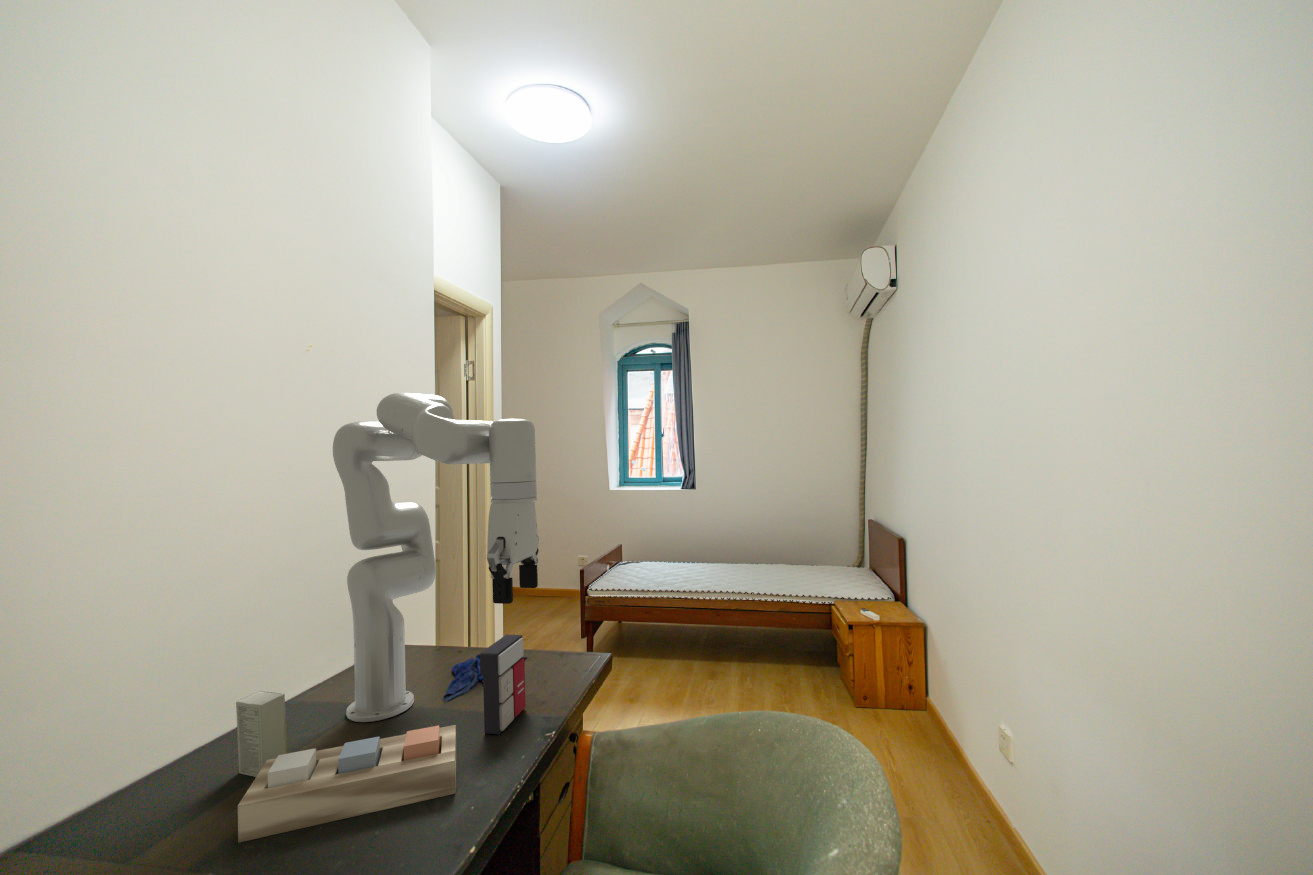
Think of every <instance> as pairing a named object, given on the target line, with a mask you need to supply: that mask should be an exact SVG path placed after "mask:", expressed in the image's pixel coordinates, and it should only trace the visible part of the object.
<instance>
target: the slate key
mask: <svg viewBox="0 0 1313 875" xmlns="http://www.w3.org/2000/svg"><path fill="white" fill-rule="evenodd" d="M380 739H381V736H374V737H370V738H364V739H359V740H353V741H348V742H344V744H343V745H342V746H343V749H342V751H341V754H340V756H339V758H338V774H341V773H346V772H351V771H356V770H361V769H366V768H371V767H375V766H377V765H378V761H379V758H380Z"/></svg>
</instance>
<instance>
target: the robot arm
mask: <svg viewBox="0 0 1313 875" xmlns="http://www.w3.org/2000/svg"><path fill="white" fill-rule="evenodd" d="M376 417H377V421H374V420H372V421H369V420H365V421H363V420H362V421H354V422H350V423H349V422H348V423H347V424H344V425H342V426H341V427H339V428H338V430H337V431H336V432H335V434H334V436H333V441H332V442H333V443H332V457H333V463H334V465H335V469H336V471H337V473H338V475H339V478H340V480H341V483H342V486H343V490H344V499H345V507H346V514H347V515H346V516H347V522H348V529H349V530H348V531H349V535H350V540H351V543H352V545H353V546H354V547H355V548H356V549H357V550H361V551H373V550H380V549H381V550H382V549H385V548H393V547H398V546H399V547H401V550H402V551H399V552H393V553H386V554H385V553H383V554H379V555H375V556H370V557H366V558H363V559H360V560H358V562H355V563H354V564H353V565H352V566H351V567H350V569H349V570H348V573H347V576H346V584H347V590H348V593H349V599H350V604H351V610H352V621H353V622H352V623H353V625H352V626H353V627H352V628H353V661H354V662H353V663H354V664H353V670H354V671H353V672H354V673H353V674H354V701H353V702H351V703H350V704H348V706H347V708H346V712H345V713H346V717H347V719H348V720H350V721H352V722H357V723H370V722H372V723H373V722H378V721H381V720H386V719H389V718H392V717H395V716H398V715H400V714H401V713H404V712H405V711H408V709H409V708H411V707H412V706H413V704H414V702H415V695H414V693H413V692H412V691H409V690H406V689H407V688H406V684H407V683H406V644H405V643H406V640H405V638H406V636H405V633H406V632H405V620H404V616H403V614H402V612H401V611H400V609H398V607H397V606H396V605H395V604H394V601H393V600H396V599H398V598H401V597H405V596H409V595H413V594H414V595H415V594H418V593H421V592H424V591H426V590H427V589H429V588H431V587H432V585H433V583H434V582H435V579H436V574H437V573H436V568H437V567H436V560H435V552H434V546H433V544H434V543H433V538H432V530H431V524H430V519H429V516H428V514H427V512H426V510H425V508H423V507H422V506H421V505H420V504H419V503H417V502H414V501H401V502H393V500H392V499H391V494H390V486H389V485H390V484H389V482H388V480H387V478H386V476H385V475H384V474H383V472H382V471H381V470H380V469H379V467H377V466H375V465H374V463H373V462H390V461H391V462H393V461H397V462H398V461H413V460H416V459H418V458H421V457H422V456H423V457H426V458H429V459H431V460H433V461H435V462H438V463H442V464H445V465H469V464H470V465H472V464H473V465H474V464H482V465H483V464H489V476H490V478H489V481H490V484H489V485H490V486H489V488H490V490H489V491H490V506H489V512H488V513H489V514H488V522H487V524H488V525H487V544H486V545H487V546H486V548H487V554H486V561H487V564H488V571H489V572H490V579H491V581H492V582H491V583H492V584H491V586H492V603H493V604H499V605H500V604H502V605H503V604H504V605H505V604H507V605H510V604H512V603H513V601H514V586H513V585H514V584H513V582H514V581H513V580H514V579H513V577H511V574H512V570H513V566H514V565H515V564H518V563H521V564H519V565H518V571H519V573H518V575H519V580H518V581H519V588H521V589H536V588H538V585H539V584H538V582H539V581H538V580H539V579H538V563H539V558H538V554H539V551H540V550H539V543H540V537H539V534H538V523H537V522H538V520H537V512H536V504H535V501H537V500H538V498H537V496H538V494H537V493H538V492H537V489H538V488H537V460H536V458H537V457H536V455H537V454H536V429H535V425H534V423H533V422H532V421H531V420H529V419H523V418H504V419H497V420H496V419H495V420H493V421H492V420H476V419H475V420H474V419H473V420H470V419H455V416H454V411H453V408H452V405H451V404H450V403H449V401H448V400H447V399H445V398H444V397H442V396H440V395H436V394H425V393H414V392H412V393H411V392H394V393H390V394H388V395H386V396H385V397H383V398H381V400H380V401H379V403H378V404H377V407H376Z"/></svg>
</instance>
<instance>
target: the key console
mask: <svg viewBox="0 0 1313 875" xmlns="http://www.w3.org/2000/svg"><path fill="white" fill-rule="evenodd" d="M439 728H440V748H439V754H435V755H430V756H425V757H420V758H415V759H410V760H405V761H404V743H405V738H406V734H400V735H394V736H390V737H384V738H383V737H382V738H380V758H379V761H378V765H377V766H375V767H371V768H366V769H361V770H356V771H351V772H346V773H341V774H338V758H339V756H340V754H341V751H342V749H343V746H344V745H339V746H335V747H330V748H323V749H320V750H316V768H315V770H314V773H313V775H312V777H311V779H310V780H306V781H301V782H296V783H291V784H286V785H281V786H276V787H271V788H268V771H269V770H270V768H271V767H272V765H273V763H274V762H275V760H276V759H270V760H267V761H266V763H265V764H264V766H263V767H262V769H261V770H260V772H259V773H258V775H257V777H254V778H255V779H254V780H253V782H252V783H251V785H250V786H249V788H248V789H247V791H245V792H246V793H245V794H244V795H243V796H242V798H241V799H240V801H239V803H238V805H237V837H238V838H237V840H238V841H237V842H238V843H244V842H247V841H252V840H256V839H260V838H264V837H269V836H273V835H274V836H275V835H278V834H282V833H286V832H291V831H295V830H300V829H304V828H309V827H314V826H319V825H322V824H326V823H332V822H336V821H339V820H344V819H348V818H353V817H357V816H361V815H367V814H370V813H375V812H380V811H383V810H388V809H392V808H398V807H401V806H407V805H411V804H415V803H419V802H420V803H421V802H424V801H427V800H432V799H437V798H441V797H446V796H450V795H454V794H457V730H456V729H457V725H456V724H452V725H448V726H442V727H439ZM238 843H237V844H238Z"/></svg>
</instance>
